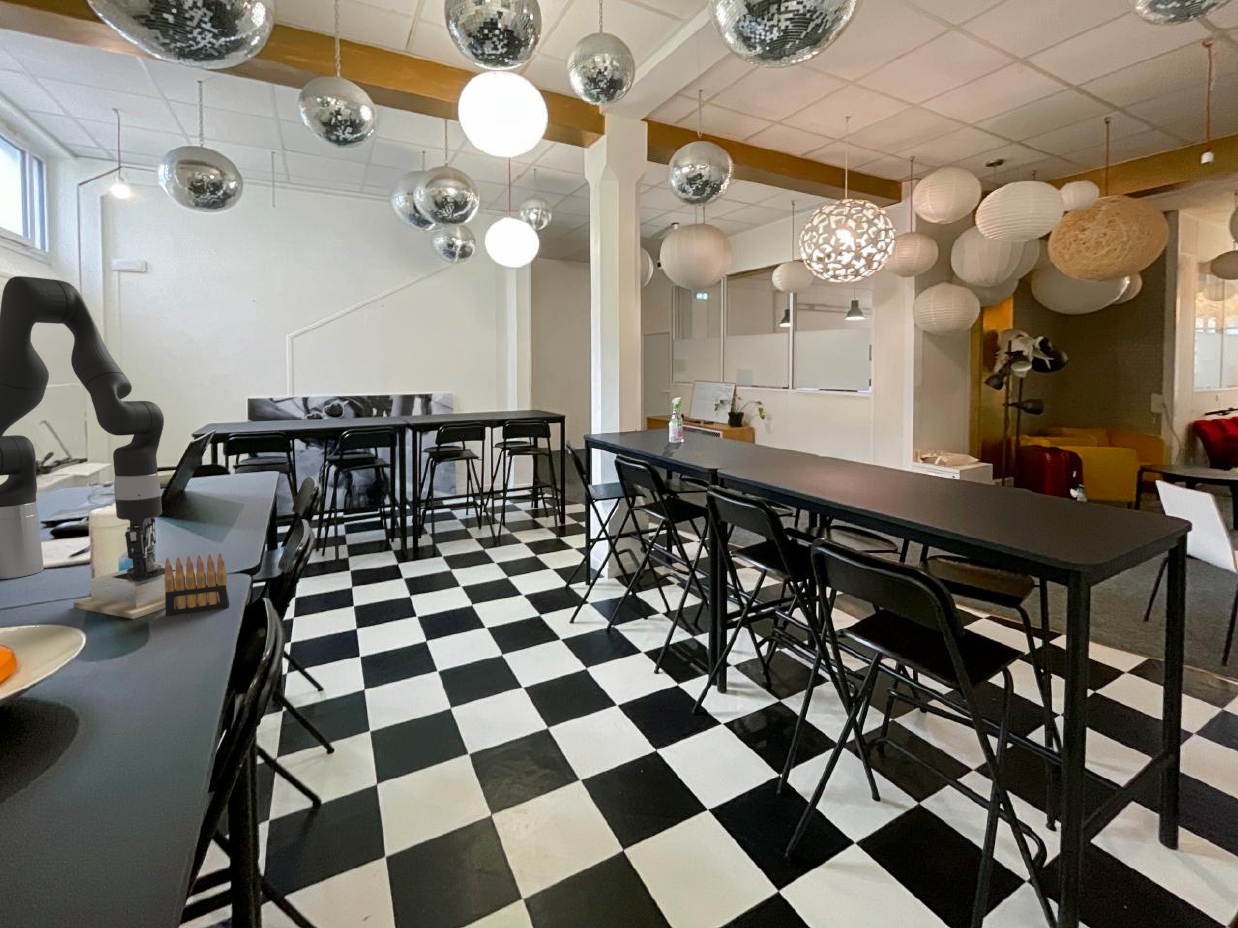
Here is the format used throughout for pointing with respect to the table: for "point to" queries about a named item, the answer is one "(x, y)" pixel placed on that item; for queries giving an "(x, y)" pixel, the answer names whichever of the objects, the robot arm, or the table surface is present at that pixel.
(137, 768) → the table surface
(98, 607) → the base board
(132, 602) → the square socket
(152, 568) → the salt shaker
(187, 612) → the ammunition clip
